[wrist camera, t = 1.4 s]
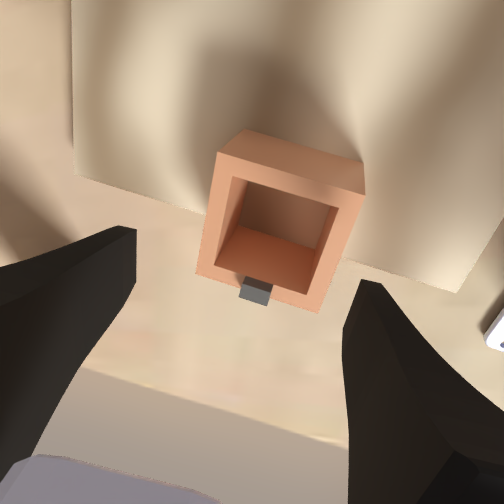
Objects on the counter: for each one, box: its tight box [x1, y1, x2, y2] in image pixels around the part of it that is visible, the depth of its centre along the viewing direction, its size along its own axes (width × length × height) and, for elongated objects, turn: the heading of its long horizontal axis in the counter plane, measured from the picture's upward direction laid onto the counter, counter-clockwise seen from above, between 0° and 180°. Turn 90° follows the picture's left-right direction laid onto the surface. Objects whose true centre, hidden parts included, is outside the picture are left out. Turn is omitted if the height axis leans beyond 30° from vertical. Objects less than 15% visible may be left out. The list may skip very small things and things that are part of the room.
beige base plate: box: [71, 0, 504, 293], centre depth 16 cm, size 20×16×2 cm
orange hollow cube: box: [195, 129, 366, 313], centre depth 17 cm, size 5×5×5 cm
